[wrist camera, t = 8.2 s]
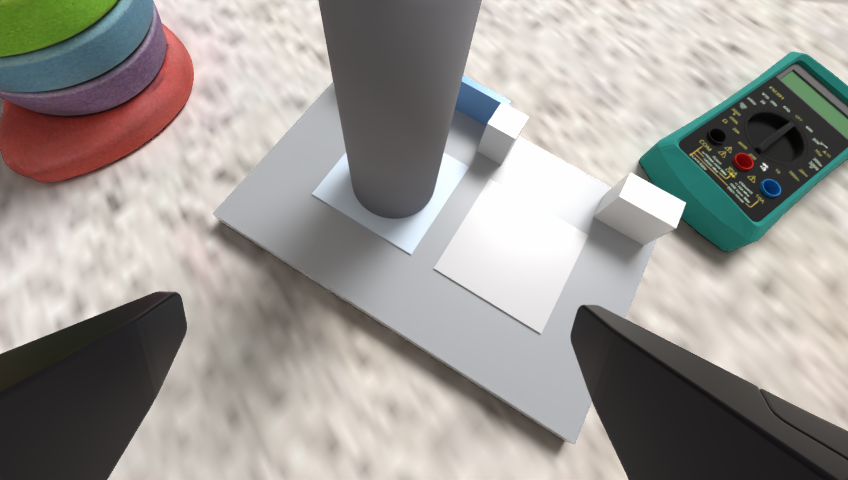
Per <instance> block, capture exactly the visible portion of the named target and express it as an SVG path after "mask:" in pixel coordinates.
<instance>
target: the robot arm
mask: <svg viewBox="0 0 848 480" xmlns="http://www.w3.org/2000/svg"><path fill="white" fill-rule="evenodd" d="M186 330H187V322H186V317H185V312H184V307H183V302H182V298H181V296H180V294H178V293H177V292H162V291H159V292H155V293H152V294H150V295H147V296H145V297H142V298H140V299H137V300H135V301H132V302H130V303H127V304H125V305H122V306H120V307H117V308H115V309H112V310H110V311H107V312H105V313H102V314H99V315H97V316H94V317H92V318H89V319H87V320H84V321H82V322H79V323H77V324H74V325H72V326H69V327H67V328H64V329H62V330H59V331H57V332H54V333H52V334H49V335H47V336H44V337H42V338H39V339H37V340H34V341H32V342H29V343H27V344H24V345H22V346H19V347H17V348H14V349H12V350H9V351H7V352H4V353H2V354H0V480H107V479H108V478H109V476H110V474H111V473H112V471H113V469H114V468H115V466H116V464H117V463H118V461H119V459H120V458H121V456H122V454H123V453H124V451H125V449H126V447H127V446H128V444H129V442H130V441H131V439H132V437H133V436H134V434H135V432H136V431H137V429H138V427H139V426H140V424H141V422H142V421H143V419H144V417H145V416H146V414H147V412H148V411H149V409H150V407H151V406H152V404H153V402H154V400H155V399H156V397H157V395H158V393H159V391H160V389H161V387H162V385H163V382H164V380H165V378H166V376H167V374H168V371H169V369H170V367H171V365H172V363H173V361H174V358H175V356H176V354H177V352H178V350H179V348H180V345H181V343H182V341H183V339H184V337H185V334H186ZM570 338H571V344H572V347H573V350H574V352H575V355H576V358H577V361H578V364H579V367H580V370H581V372H582V375H583V378H584V381H585V384H586V387H587V390H588V392H589V395H590V397H591V400H592V402H593V404H594V407H595V409H596V411H597V413H598V415H599V418H600V420H601V422H602V424H603V426H604V428H605V430H606V432H607V434H608V437H609V439H610V441H611V443H612V445H613V447H614V449H615V451H616V453H617V456H618V458H619V460H620V462H621V464H622V466H623V468H624V470H625V472H626V475H627V477H628V479H629V480H848V431H846V430H844V429H842V428H840V427H838V426H836V425H834V424H832V423H830V422H828V421H825V420H823V419H821V418H819V417H817V416H815V415H813V414H811V413H809V412H807V411H805V410H803V409H801V408H799V407H797V406H795V405H793V404H791V403H789V402H787V401H785V400H783V399H781V398H779V397H777V396H775V395H773V394H771V393H769V392H767V391H765V390H763V389H759V388H758V387H757V386H755V385H754V384H752V383H750V382H748V381H746V380H744V379H742V378H740V377H738V376H736V375H734V374H732V373H730V372H728V371H726V370H724V369H722V368H720V367H718V366H716V365H714V364H712V363H710V362H709V361H707V360H705V359H703V358H701V357H699V356H697V355H695V354H693V353H691V352H689V351H687V350H685V349H683V348H681V347H679V346H677V345H675V344H673V343H671V342H669V341H667V340H665V339H664V338H662V337H660V336H658V335H656V334H654V333H652V332H650V331H648V330H646V329H644V328H642V327H640V326H638V325H636V324H634V323H632V322H630V321H628V320H626V319H624V318H622V317H621V316H619V315H617V314H615V313H613V312H611V311H609V310H607V309H605V308H603V307H601V306H599V305H585V304H584V305H581V306H579V308H578V310H577V312H576V316H575V319H574V323H573V326H572V330H571V335H570Z"/></svg>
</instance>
